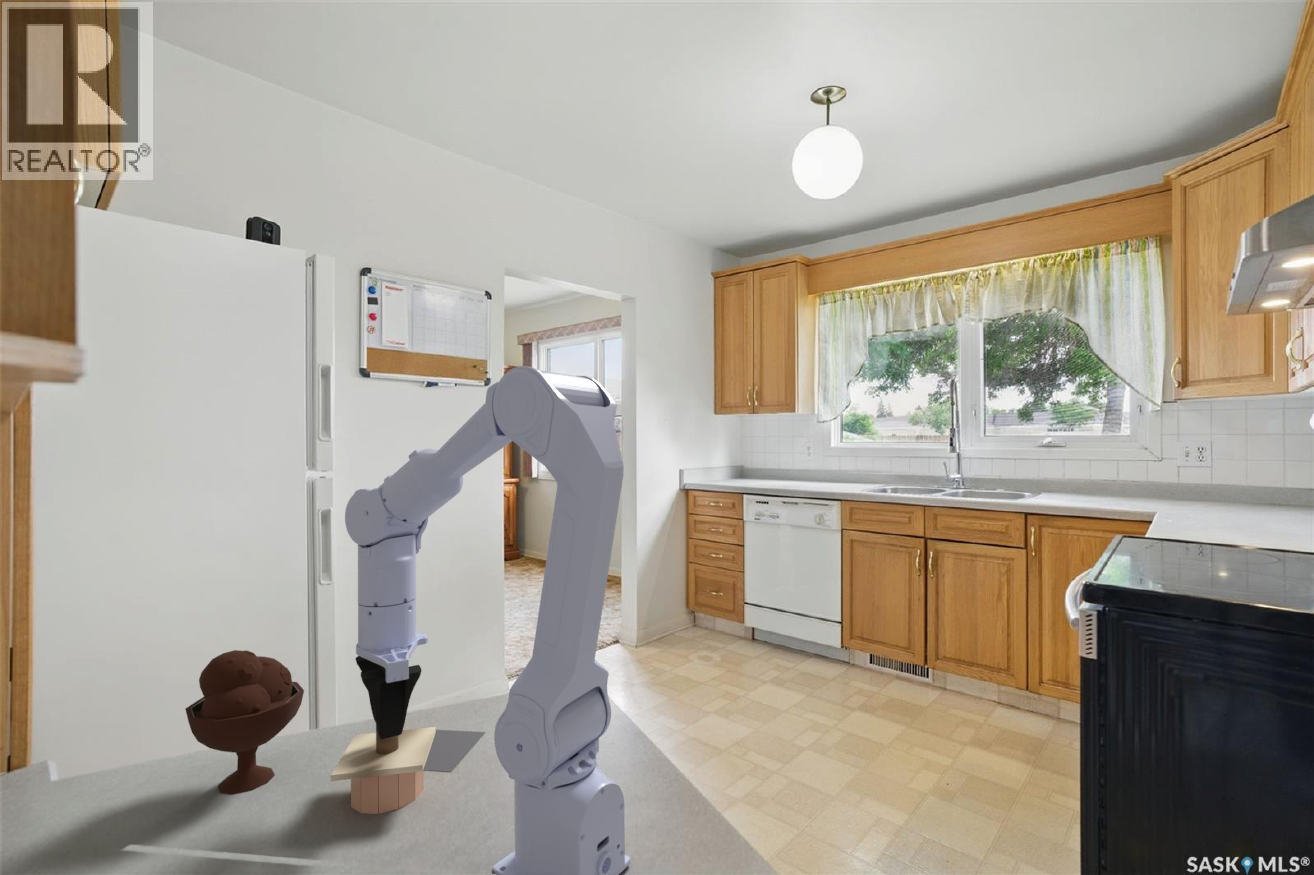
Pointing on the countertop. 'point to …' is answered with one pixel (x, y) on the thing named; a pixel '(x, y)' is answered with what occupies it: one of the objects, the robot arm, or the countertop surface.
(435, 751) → the mat
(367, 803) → the bowl
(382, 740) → the cover
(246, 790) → the ice cream bowl
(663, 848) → the countertop surface
